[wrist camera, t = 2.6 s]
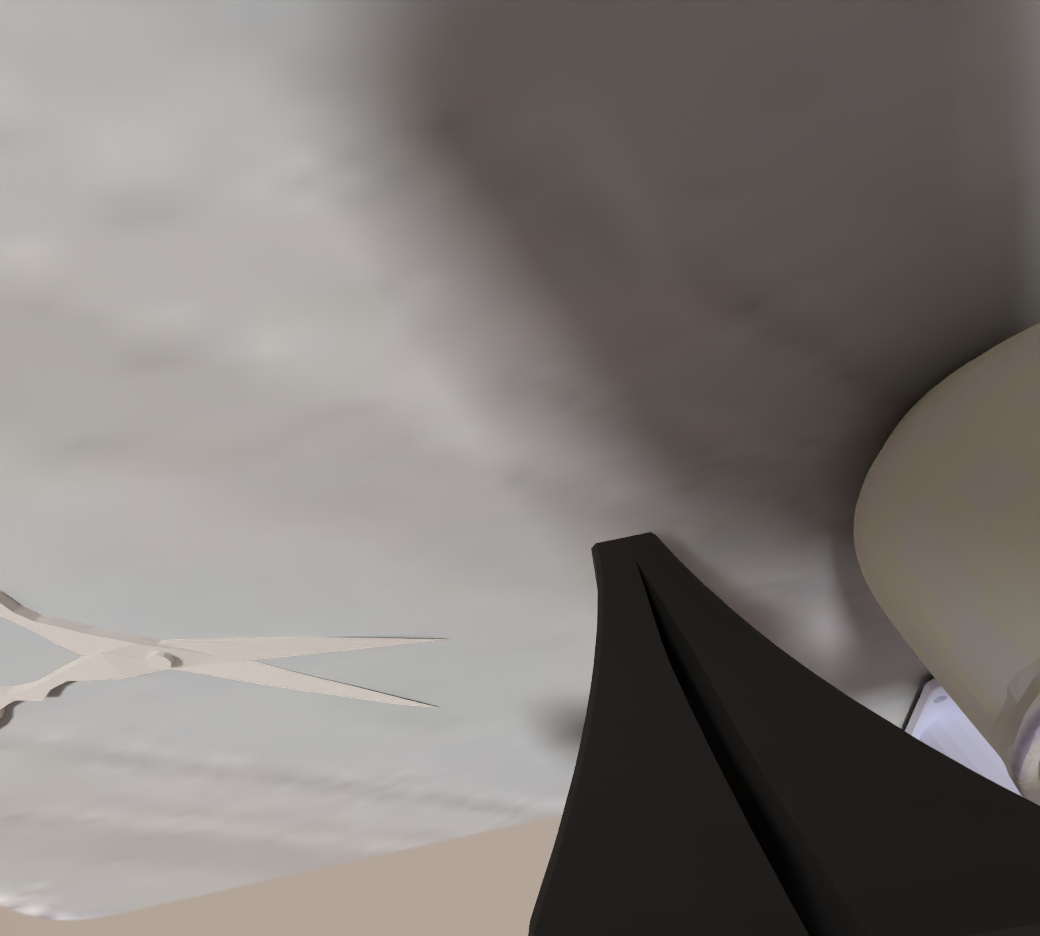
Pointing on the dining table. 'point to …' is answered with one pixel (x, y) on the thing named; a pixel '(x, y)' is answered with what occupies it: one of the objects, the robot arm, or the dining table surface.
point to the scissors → (182, 657)
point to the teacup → (967, 544)
